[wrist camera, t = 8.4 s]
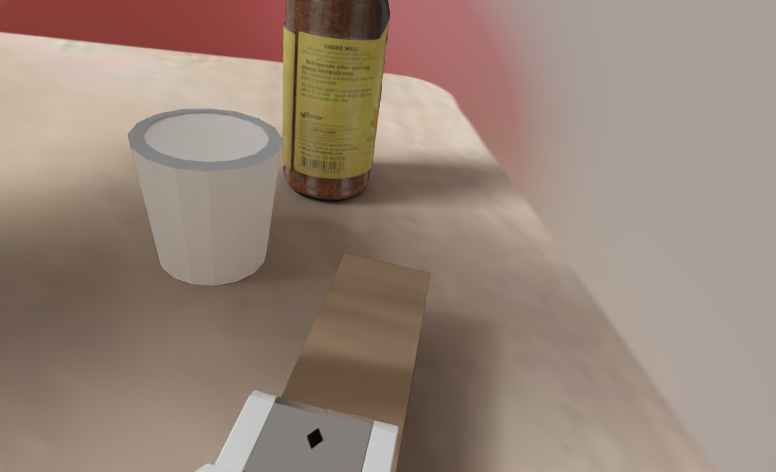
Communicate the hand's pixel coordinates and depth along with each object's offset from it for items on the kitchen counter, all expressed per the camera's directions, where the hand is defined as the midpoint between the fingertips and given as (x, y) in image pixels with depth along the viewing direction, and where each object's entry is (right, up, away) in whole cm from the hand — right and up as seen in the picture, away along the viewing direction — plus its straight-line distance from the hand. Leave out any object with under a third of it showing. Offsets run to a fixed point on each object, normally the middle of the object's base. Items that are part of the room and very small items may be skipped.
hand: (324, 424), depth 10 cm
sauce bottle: (-3, +8, +26) cm, 27 cm away
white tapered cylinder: (-8, +3, +17) cm, 20 cm away
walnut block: (-1, -5, +4) cm, 7 cm away
